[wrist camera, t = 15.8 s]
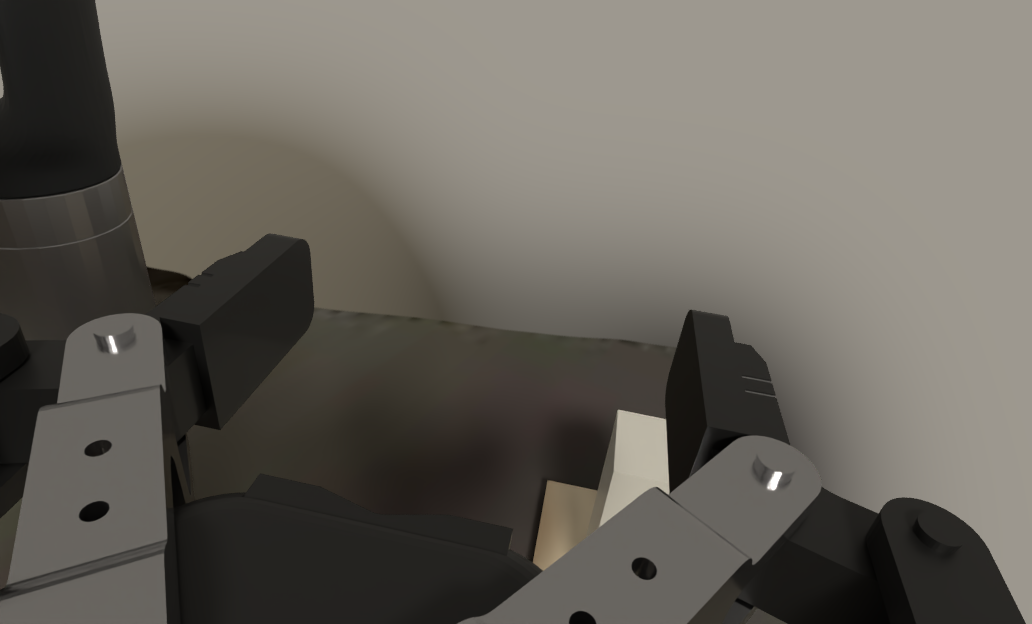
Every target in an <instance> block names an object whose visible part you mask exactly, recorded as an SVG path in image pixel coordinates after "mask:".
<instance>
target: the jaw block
mask: <svg viewBox="0 0 1032 624" xmlns="http://www.w3.org/2000/svg"><path fill="white" fill-rule="evenodd" d="M653 487H658V488H660V489H661V490H663V491H664V492H665V493H667V494H669V473H668V451H667V430H666V419H662V418H657V417H652V416H647V415H642V414H637V413H632V412H627V411H622V410H618V411H617V415H616V419H615V423H614V427H613V431H612V435H611V439H610V443H609V447H608V451H607V455H606V459H605V463H604V467H603V471H602V475H601V479H600V483H599V487H598V491H597V495H596V499H595V503H594V507H593V511H592V515H591V519H590V523H589V527H588V531H587V535H586V537H587V536H589V535H590V534H591V533H593V532H594V531H595V530H596V529H598V528H599V527H600V526H602V525H603V524H604V523H605V522H607V521H608V520H609V519H610V518H612V517H613V516H614V515H616V514H617V513H618V512H619V511H621V510H622V509H623V508H625V507H626V506H627V505H628V504H630V503H631V502H632V501H634V500H635V499H636V498H637V497H639V496H640V495H641V494H642V493H644V492H645V491H647V490H648V489H650V488H653Z"/></svg>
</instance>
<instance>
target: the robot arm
mask: <svg viewBox="0 0 1032 624" xmlns="http://www.w3.org/2000/svg"><path fill="white" fill-rule="evenodd" d="M0 67H1V74H2V80H3V86H4V95H3V97H2V98H1V99H0V518H1V517H2V516H3V515H4V514H5V513H6V512H7V511H8V510H9V509H11V508H12V507H13V506H14V505H15V504H16V503H17V502H18V501H19V500H20V499H21V498H22V497H23V499H22V505H21V511H20V516H19V522H18V527H17V533H16V539H15V544H14V550H13V555H12V561H11V567H10V572H9V577H8V582H7V585H6V587H5V588H3V589H1V590H0V624H746V623H747V621H748V620H749V619H750V618H751V617H752V615H753V614H754V613H755V612H756V611H757V609H758V608H759V609H761V610H762V611H764V612H766V613H768V614H770V615H772V616H774V617H776V618H778V619H780V620H782V621H784V622H786V623H788V624H1026V623H1025V621H1024V619H1023V617H1022V615H1021V613H1020V611H1019V609H1018V607H1017V605H1016V603H1015V601H1014V599H1013V597H1012V595H1011V593H1010V591H1009V590H1008V587H1007V585H1006V583H1005V581H1004V579H1003V577H1002V575H1001V573H1000V571H999V569H998V567H997V565H996V563H995V561H994V559H993V557H992V555H991V553H990V551H989V549H988V548H987V546H986V544H985V543H984V541H983V540H982V539H981V538H980V536H979V535H978V534H977V533H976V532H975V531H974V530H973V529H972V528H971V527H970V526H968V525H967V524H966V523H965V522H964V521H962V520H961V519H960V518H958V517H957V516H955V515H954V514H952V513H950V512H949V511H947V510H945V509H943V508H941V507H939V506H937V505H934V504H932V503H929V502H926V501H923V500H919V499H914V498H896V499H892V500H890V501H889V502H887V503H886V504H885V505H884V506H883V508H882V509H881V511H880V513H879V514H878V513H875V512H873V511H871V510H869V509H866V508H864V507H862V506H859V505H857V504H855V503H852V502H850V501H848V500H846V499H843V498H841V497H839V496H837V495H835V494H833V493H831V492H829V491H828V490H826V489H824V488H823V487H822V485H821V484H822V483H821V478H820V475H819V473H818V471H817V469H816V467H815V466H814V465H813V463H812V462H811V461H810V460H809V459H808V458H807V457H806V456H805V455H803V454H802V453H801V452H799V451H798V450H797V449H795V448H793V447H792V446H790V443H789V440H788V436H787V433H786V430H785V426H784V423H783V419H782V416H781V413H780V409H779V406H778V402H777V399H776V398H775V392H774V388H773V385H772V384H771V378H770V374H769V371H768V367H767V364H766V362H765V361H764V360H763V359H762V358H761V356H760V355H759V354H758V353H757V352H756V351H755V350H754V348H753V347H752V346H751V345H746V344H741V343H735V342H734V339H733V335H732V330H731V325H730V321H729V318H728V316H724V315H718V314H712V313H707V312H701V311H696V310H689V312H688V314H687V316H686V318H685V322H684V325H683V328H682V332H681V335H680V338H679V342H678V345H677V348H676V352H675V355H674V359H673V362H672V365H671V369H670V372H669V376H668V381H667V387H666V395H665V408H666V430H667V451H668V473H669V494H667V493H665V492H664V491H663V490H661V489H660V488H658V487H653V488H650V489H648V490H647V491H645V492H644V493H642V494H641V495H640V496H639V497H637V498H636V499H635V500H634V501H632V502H631V503H630V504H628V505H627V506H626V507H625V508H623V509H622V510H621V511H619V512H618V513H617V514H616V515H614V516H613V517H612V518H610V519H609V520H608V521H607V522H605V523H604V524H603V525H602V526H600V527H599V528H598V529H596V530H595V531H594V532H593V533H591V534H590V535H589V536H587V537H586V538H585V539H584V540H582V541H581V542H580V543H578V544H577V545H576V546H575V547H573V548H572V549H571V550H570V551H568V552H567V553H566V554H564V555H563V556H562V557H561V558H559V559H558V560H557V561H555V562H554V563H553V564H552V565H550V566H549V567H548V568H546V569H545V570H544V571H543V570H542V569H540V568H539V567H538V566H537V565H535V564H534V563H533V562H531V561H529V560H528V559H526V558H525V557H523V556H522V555H520V554H518V553H516V552H514V551H512V550H510V545H511V539H512V532H513V529H512V528H507V527H503V526H498V525H493V524H489V523H484V522H480V521H475V520H471V519H466V518H461V517H457V516H452V515H383V514H377V513H374V512H371V511H369V510H367V509H365V508H363V507H361V506H359V505H357V504H355V503H353V502H351V501H349V500H347V499H345V498H342V497H340V496H338V495H336V494H334V493H332V492H330V491H328V490H326V489H324V488H322V487H320V486H315V485H310V484H306V483H301V482H297V481H292V480H288V479H283V478H278V477H274V476H269V475H265V474H259V476H258V477H257V478H256V480H255V481H254V483H253V484H252V485H251V487H250V488H249V490H248V491H247V492H246V493H231V494H222V495H217V496H212V497H207V498H203V499H199V500H196V501H195V496H194V486H193V476H192V466H191V456H190V446H189V441H188V437H187V432H188V430H189V429H190V428H191V427H192V426H193V425H199V426H204V427H208V428H213V429H218V430H221V429H222V427H223V426H224V425H225V424H226V423H227V422H228V421H229V419H230V418H231V417H232V416H233V415H234V414H235V413H236V411H237V410H238V409H239V408H240V407H241V406H242V405H243V403H244V402H245V401H246V400H247V399H248V398H249V396H250V395H251V394H252V393H253V392H254V391H255V390H256V388H257V387H258V386H259V385H260V384H261V383H262V382H263V380H264V379H265V378H266V377H267V376H268V375H269V374H270V372H271V371H272V370H273V369H274V368H275V367H276V365H277V364H278V363H279V362H280V361H281V360H282V359H283V357H284V356H285V355H286V354H287V353H288V352H289V351H290V349H291V348H292V347H293V346H294V345H295V344H296V342H297V341H298V340H299V339H300V338H301V337H302V336H303V334H304V333H305V332H306V331H307V329H308V328H309V326H310V323H311V321H312V317H313V312H314V296H313V282H312V270H311V257H310V249H309V245H308V243H307V242H306V241H305V240H303V239H298V238H293V237H287V236H282V235H276V234H267V235H265V236H264V237H263V238H261V239H260V240H259V241H257V242H256V243H255V244H254V245H252V246H251V247H250V248H249V249H247V250H246V251H244V252H242V251H241V252H239V253H236V254H233V255H231V256H228V257H226V258H223V259H220V260H218V261H217V262H215V263H214V264H212V265H211V266H210V267H208V268H207V269H206V270H204V271H203V272H202V275H198V276H196V277H195V278H194V279H192V280H191V281H189V282H188V285H184V286H183V287H181V288H180V289H179V290H177V291H176V292H175V293H173V294H172V295H171V296H169V297H168V298H167V299H165V300H164V301H163V302H161V303H160V304H159V305H157V306H156V305H155V301H154V297H153V292H152V288H151V284H150V280H149V276H148V271H147V267H146V264H145V259H144V255H143V251H142V247H141V242H140V238H139V234H138V230H137V225H136V221H135V217H134V213H133V209H132V205H131V201H130V197H129V192H128V188H127V184H126V180H125V176H124V171H123V167H122V165H121V159H120V155H119V151H118V146H117V139H116V125H115V112H114V104H113V97H112V92H111V87H110V82H109V78H108V73H107V68H106V63H105V57H104V52H103V46H102V41H101V35H100V29H99V22H98V16H97V10H96V4H95V0H0Z"/></svg>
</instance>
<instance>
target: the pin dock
mask: <svg viewBox="0 0 1032 624" xmlns="http://www.w3.org/2000/svg"><path fill="white" fill-rule="evenodd" d="M596 495H597V490H592V489H587V488H582V487H578V486H573V485H568V484H563V483H559V482H554V481H549V480H548V481H547V487H546V492H545V497H544V503H543V509H542V514H541V520H540V525H539V531H538V536H537V542H536V548H535V553H534V559H533V563H534V564H535V565H537V566H538V567H539V568H540V569H542V570H543V571H544V570H545V569H546V568H548V567H549V566H550V565H552V564H553V563H554V562H555V561H557V560H558V559H559V558H561V557H562V556H563V555H564V554H566V553H567V552H568V551H570V550H571V549H572V548H573V547H575V546H576V545H577V544H578V543H580V542H581V541H582V540H584V539H585V538H586V535H587V531H588V527H589V523H590V519H591V515H592V511H593V507H594V503H595V499H596Z"/></svg>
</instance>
